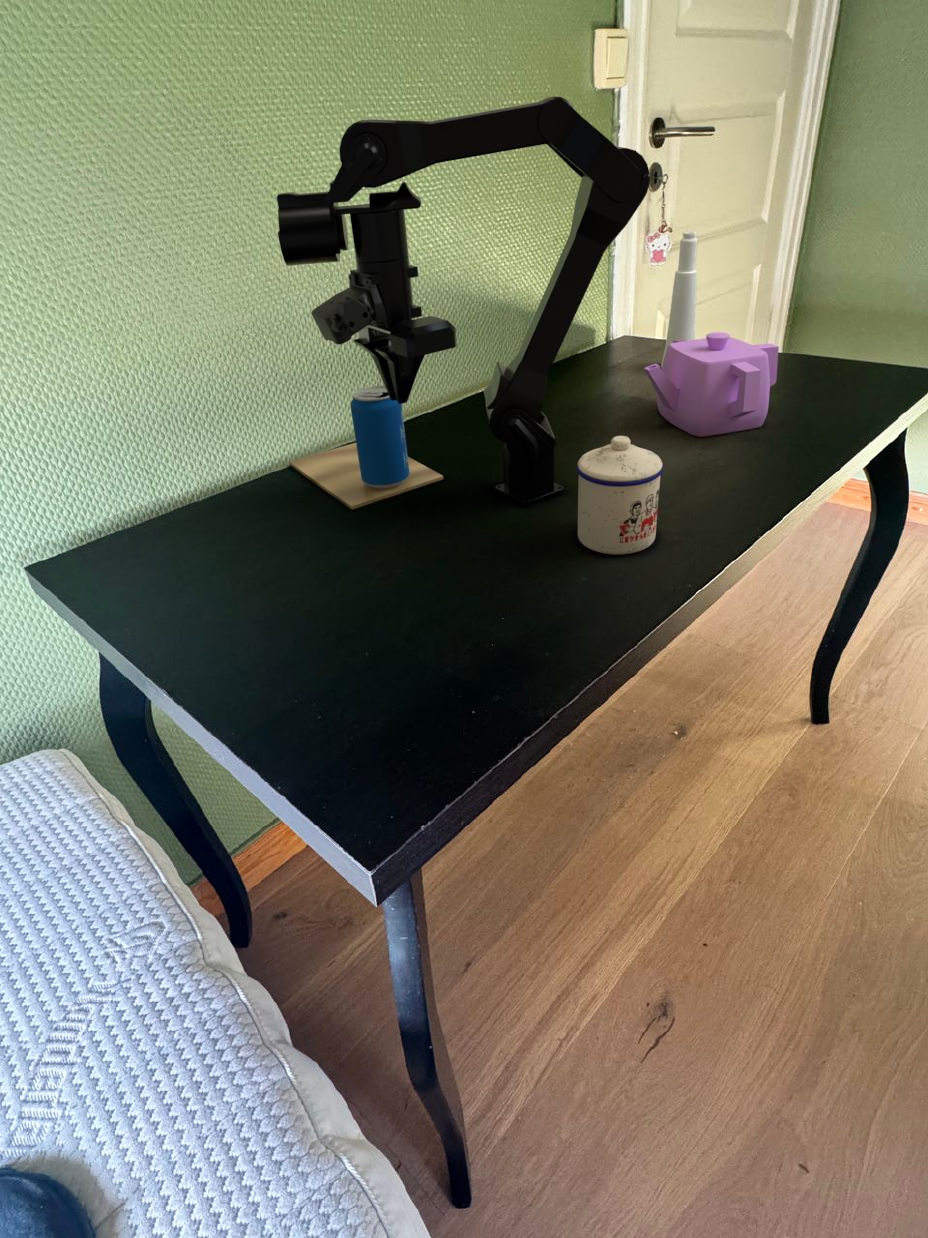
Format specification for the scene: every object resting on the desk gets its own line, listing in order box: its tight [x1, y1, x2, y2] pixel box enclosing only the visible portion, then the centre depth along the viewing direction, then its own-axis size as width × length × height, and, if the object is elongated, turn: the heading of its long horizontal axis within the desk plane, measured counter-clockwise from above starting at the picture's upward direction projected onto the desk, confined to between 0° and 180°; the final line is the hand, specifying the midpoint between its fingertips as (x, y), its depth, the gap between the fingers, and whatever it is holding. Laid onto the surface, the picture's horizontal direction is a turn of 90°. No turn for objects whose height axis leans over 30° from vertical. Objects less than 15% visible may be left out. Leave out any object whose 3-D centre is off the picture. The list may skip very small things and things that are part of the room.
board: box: [288, 442, 445, 510], centre depth 107 cm, size 20×14×1 cm
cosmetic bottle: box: [660, 231, 699, 369], centre depth 132 cm, size 6×6×22 cm
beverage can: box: [349, 385, 410, 489], centre depth 99 cm, size 6×6×12 cm
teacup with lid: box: [576, 435, 664, 556], centre depth 84 cm, size 12×9×12 cm
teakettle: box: [643, 331, 780, 438], centre depth 112 cm, size 17×17×12 cm
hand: (398, 401), depth 91 cm, fingers closed
